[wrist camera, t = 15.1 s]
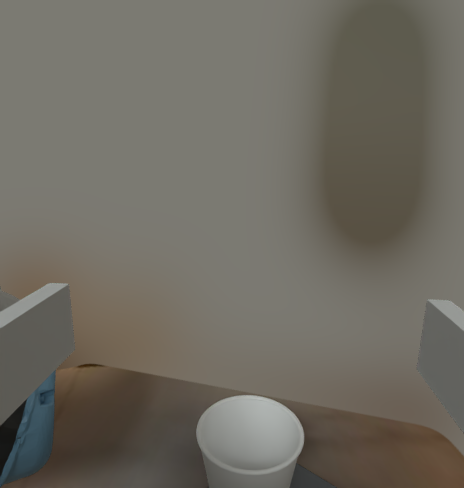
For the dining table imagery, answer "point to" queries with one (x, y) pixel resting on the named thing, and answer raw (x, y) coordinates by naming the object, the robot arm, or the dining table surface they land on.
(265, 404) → the cup
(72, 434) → the dining table surface
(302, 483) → the mat
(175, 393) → the dining table surface
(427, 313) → the robot arm
